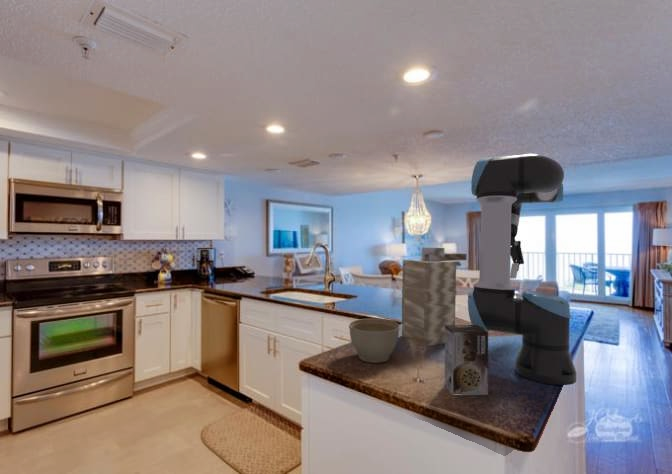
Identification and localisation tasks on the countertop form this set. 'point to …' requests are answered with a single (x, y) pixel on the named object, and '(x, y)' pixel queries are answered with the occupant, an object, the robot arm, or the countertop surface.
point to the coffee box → (466, 359)
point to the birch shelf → (428, 300)
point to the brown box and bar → (440, 255)
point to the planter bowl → (374, 338)
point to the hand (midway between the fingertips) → (500, 272)
